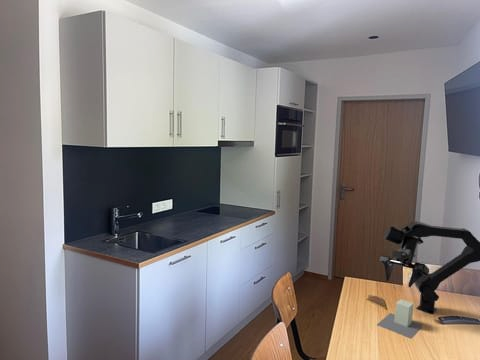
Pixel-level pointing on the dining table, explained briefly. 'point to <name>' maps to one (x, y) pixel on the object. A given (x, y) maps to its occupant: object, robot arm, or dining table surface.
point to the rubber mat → (400, 326)
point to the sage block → (403, 312)
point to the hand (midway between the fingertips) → (397, 283)
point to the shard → (376, 301)
